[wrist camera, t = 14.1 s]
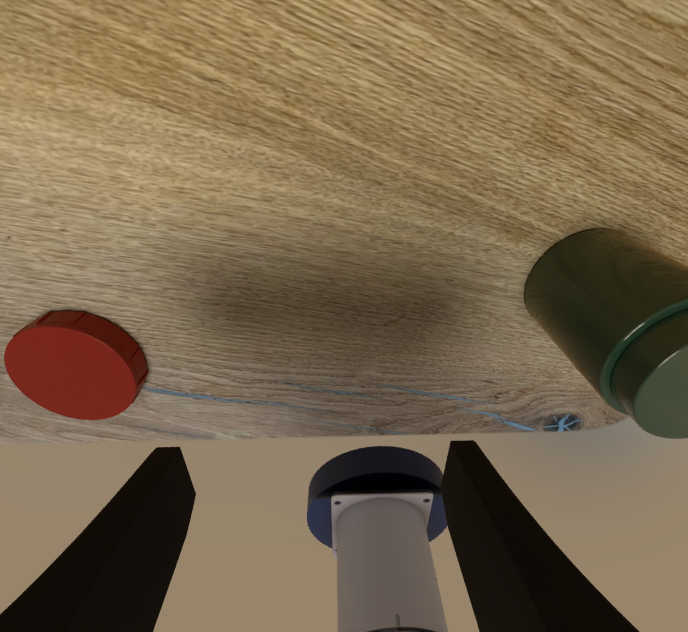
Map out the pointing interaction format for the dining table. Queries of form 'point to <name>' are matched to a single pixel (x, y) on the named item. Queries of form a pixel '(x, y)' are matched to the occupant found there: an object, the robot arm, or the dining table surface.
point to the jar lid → (76, 365)
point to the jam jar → (619, 323)
